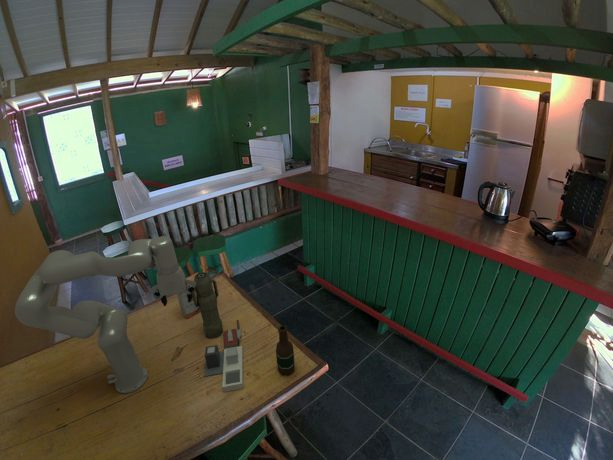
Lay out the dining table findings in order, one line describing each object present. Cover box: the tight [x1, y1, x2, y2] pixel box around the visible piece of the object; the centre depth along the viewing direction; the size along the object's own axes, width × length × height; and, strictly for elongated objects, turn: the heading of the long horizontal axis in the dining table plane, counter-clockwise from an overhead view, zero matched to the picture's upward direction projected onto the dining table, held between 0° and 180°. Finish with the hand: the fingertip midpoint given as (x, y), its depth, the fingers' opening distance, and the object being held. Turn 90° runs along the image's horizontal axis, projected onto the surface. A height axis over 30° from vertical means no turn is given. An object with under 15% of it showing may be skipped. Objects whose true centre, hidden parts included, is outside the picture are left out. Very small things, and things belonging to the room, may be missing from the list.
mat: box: [203, 350, 224, 378], centre depth 141 cm, size 8×12×1 cm, turn 11°
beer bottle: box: [275, 325, 296, 376], centre depth 132 cm, size 8×8×24 cm
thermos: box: [191, 271, 224, 340], centre depth 150 cm, size 9×12×35 cm
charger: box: [204, 345, 220, 369], centre depth 139 cm, size 5×5×8 cm
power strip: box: [221, 345, 244, 393], centre depth 136 cm, size 8×20×8 cm, turn 11°
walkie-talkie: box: [222, 319, 242, 349], centre depth 154 cm, size 9×4×20 cm
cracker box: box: [176, 272, 201, 320], centre depth 169 cm, size 14×6×21 cm, turn 139°
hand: (178, 302), depth 129 cm, fingers open, 9 cm apart
